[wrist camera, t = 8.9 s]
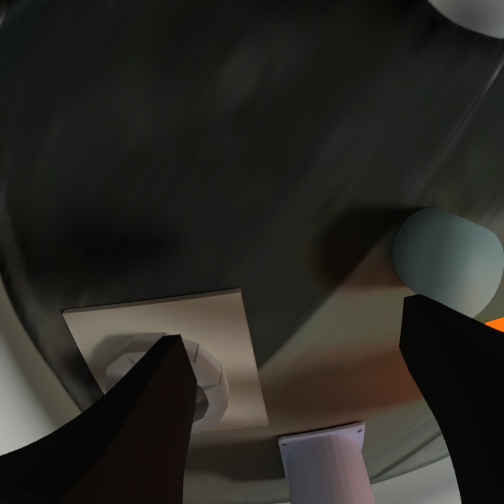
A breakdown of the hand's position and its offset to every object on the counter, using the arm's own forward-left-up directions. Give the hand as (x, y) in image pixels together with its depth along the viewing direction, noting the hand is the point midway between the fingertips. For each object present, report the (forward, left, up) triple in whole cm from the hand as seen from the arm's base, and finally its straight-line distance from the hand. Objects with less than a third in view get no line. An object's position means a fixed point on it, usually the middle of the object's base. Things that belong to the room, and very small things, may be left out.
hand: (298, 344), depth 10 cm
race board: (-9, +9, -9) cm, 16 cm away
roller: (-2, -10, -9) cm, 14 cm away
